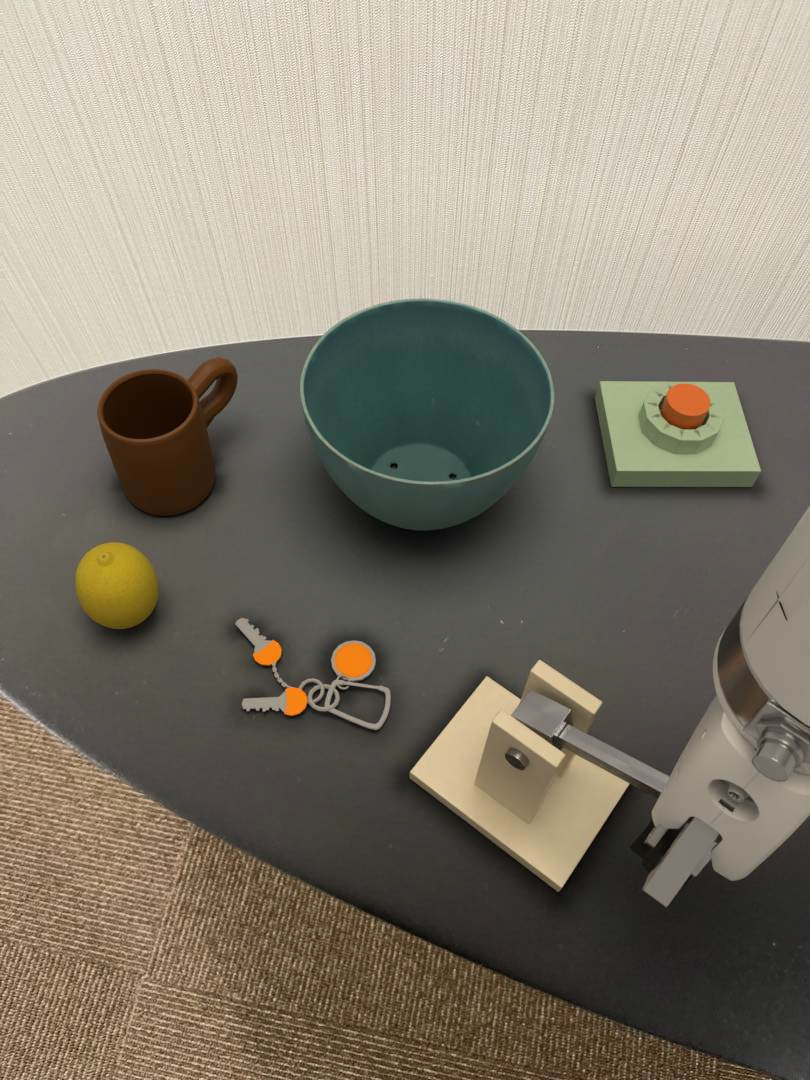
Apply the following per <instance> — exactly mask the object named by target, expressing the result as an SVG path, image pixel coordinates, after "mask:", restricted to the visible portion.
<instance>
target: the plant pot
mask: <svg viewBox="0 0 810 1080" xmlns="http://www.w3.org/2000/svg"><path fill="white" fill-rule="evenodd" d="M554 388H555V387H554V383H553V377H552V374H551V372H550V369H549V366H548V364H547V362H546V360H545V358H544V357H543V355H542V353H541V352H540V351H539V349H538V348H537V347H536V345H534V343H533V342H532V341H531V340H530V339H529V338H528V337H527V336H526V335H525V334H524V333H523V332H521V331H520V330H519V329H518V328H516V327H515V326H514V325H512V324H511V323H509V322H508V321H506V320H505V319H503V318H501V317H499V316H498V315H495V314H494V313H491V312H489V311H486V310H485V309H481V308H478V307H476V306H473V305H470V304H465V303H461V302H457V301H453V300H448V299H438V298H420V297H419V298H404V299H396V300H390V301H386V302H382V303H378V304H374V305H371V306H368V307H366V308H363V309H361V310H358V311H356V312H354V313H351V314H350V315H348V316H346V317H345V318H343V319H342V320H340V321H338V322H337V323H336V324H334V325H333V326H332V327H330V328H329V329H328V330H327V331H325V332H324V333H323V334H322V335H321V336H320V337H319V338H318V339H317V341H316V342H315V344H314V345H313V346H312V348H311V350H310V351H309V353H308V355H307V356H306V359H305V361H304V365H303V368H302V371H301V375H300V382H299V393H300V402H301V408H302V414H303V417H304V421H305V425H306V428H307V431H308V435H309V437H310V439H311V442H312V444H313V448H314V449H315V451H316V453H317V455H318V458H319V459H320V462H321V463H322V465H323V467H324V468H325V470H326V471H327V474H328V475H329V476H330V478H331V479H332V480H333V482H334V483H335V484H336V485H337V487H338V488H339V489H340V490H341V491H342V493H343V494H344V495H345V496H346V497H347V498H348V499H350V501H351V502H352V503H353V504H355V505H356V506H357V507H358V508H360V509H361V510H362V511H364V512H365V513H367V514H369V515H370V516H371V517H373V518H376V519H377V520H379V521H381V522H383V523H386V524H388V525H391V526H394V527H397V528H401V529H405V530H411V531H412V530H413V531H436V530H442V529H443V530H444V529H447V528H451V527H454V526H457V525H461V524H463V523H465V522H467V521H470V520H472V519H475V517H477V516H479V515H481V514H483V513H484V512H485V511H487V510H489V508H491V507H492V506H493V505H495V504H496V503H497V502H499V500H501V499H502V498H503V497H504V496H505V495H506V494H507V493H508V492H509V491H510V490H511V489H512V488H513V487H514V486H515V484H516V483H517V482H518V481H519V479H520V478H521V477H522V475H523V474H524V473H525V472H526V470H527V468H528V467H529V465H530V464H531V462H532V461H533V460H534V458H535V456H536V454H537V452H538V450H539V448H540V446H541V445H542V442H543V440H544V438H545V435H546V433H547V430H548V428H549V424H550V422H551V418H552V415H553V411H554V407H555V389H554ZM392 465H396V466H397V467H396V468H392V467H391V466H392ZM451 475H454V476H455V478H451V477H450V476H451Z"/></svg>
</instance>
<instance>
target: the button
mask: <svg viewBox="0 0 810 1080" xmlns="http://www.w3.org/2000/svg"><path fill="white" fill-rule="evenodd" d="M710 404H711V402H710V398H709V396H708V394H707V393H706V392H705V391H704V390H703V389H701V388H700V387H698V386H695V385H692V384H686V383H682V384H677V385H674V386H673V387H671V388H670V389H669V390H668V392H667V395H666V397H665V400H664V402H663V405H662V408H661V413H662V416H663V418H664V419H665V420H666V421H667V422H668V423H669V424H670V425H673V426H675V427H678V428H680V429H695V428H697V427H699V426H700V425H701V424H702V423H703V421H704V419H705V417H706V415H707V412H708V410H709V408H710Z"/></svg>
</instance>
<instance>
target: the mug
mask: <svg viewBox="0 0 810 1080" xmlns="http://www.w3.org/2000/svg"><path fill="white" fill-rule="evenodd" d="M214 382H215V384H214ZM213 384H214V386H213V388H212V389H211V391H210V392H209V393H208V394H207V395H206V396H204V395H205V393H206V392H207V391H208V390H209V389H210V387H211V386H212V385H213ZM237 386H238V372H237V368H236V365H234V364H233V362H232V361H230V360H229V359H227V358H225V357H220V356H217V357H213V358H209V359H208V360H206V361H204V362H203V363H201V364H200V365H199V366H198V367H197V368H196V369H195V371H194V372H193V373H192V374H191V375H190V376H189V378H188V379H187V378H185V377H183V375H180V374H178V373H177V372H174V371H170V370H166V369H159V368H150V369H148V368H147V369H141V370H140V369H139V370H136V371H133V372H130V373H127V374H125V375H123V376H121V377H119V378H118V379H116V380H115V381H113V382H112V383H111V384H110V385H108V387H107V388H106V389H105V390H104V391H103V392H102V394H101V396H100V399H99V401H98V404H97V409H96V410H97V412H96V413H97V419H98V424H99V428H100V432H101V435H102V438H103V441H104V444H105V447H106V450H107V452H108V455H109V458H110V460H111V463H112V466H113V468H114V470H115V473H116V475H117V478H118V481H119V484H120V486H121V489H122V491H123V493H124V494H125V496H126V498H127V500H128V501H129V502H130V503H131V504H132V505H133V506H134V507H136V508H137V509H138V510H140V511H142V512H145V513H147V514H150V515H155V516H162V517H163V516H164V517H165V516H175V515H179V514H183V513H186V512H189V511H190V510H192V509H194V508H196V507H197V506H199V505H200V504H201V503H203V502H204V500H205V499H206V498H207V497H208V496H209V495H210V493H211V491H212V489H213V487H214V484H215V480H216V466H215V460H214V456H213V451H212V446H211V440H210V436H209V432H208V428H209V426H210V425H211V424H212V422H213V420H214V419H215V418H216V417H217V415H219V414H220V413H221V412H222V411H223V410H224V409H225V408H226V407H227V406H228V405H229V403H230V402H231V400H232V398H233V397H234V395H235V393H236V389H237ZM203 396H204V397H203ZM202 397H203V398H202ZM201 398H202V399H201ZM200 399H201V400H200Z"/></svg>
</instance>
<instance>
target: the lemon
mask: <svg viewBox="0 0 810 1080" xmlns="http://www.w3.org/2000/svg"><path fill="white" fill-rule="evenodd" d="M74 585H75V593H76V598H77V600H78V602H79V604H80V606H81V608H82V610H83V611H84V613H86V614H87V616H88V617H89V618H90V619H91V620H93V621H94V622H96V623H97V624H99V625H101V626H102V627H105V628H109V629H114V630H115V629H116V630H124V629H130V628H132V627H135V626H138V625H140V624H141V623H143V622H144V621H145V620H146V619H147V618H148V617H149V616H150V615H151V614H152V613H153V610H154V609H155V608H156V605H157V603H158V599H159V594H160V591H159V589H160V588H159V587H160V586H159V578H158V576H157V573H156V571H155V568H154V566H153V565H152V563H151V562H150V561H149V558H147V557H146V556H145V555H144V553H142V552H141V551H140V550H139V549H137V548H135V547H134V546H132V545H130V544H128V543H123V542H116V541H114V542H105V543H101V544H99V545H96V546H95V547H92V548H91V549H89V550H88V551H87V552H86V553H85V555H84V556H82V558H81V559H80V561H79V563H78V565H77V568H76V572H75V576H74Z"/></svg>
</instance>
